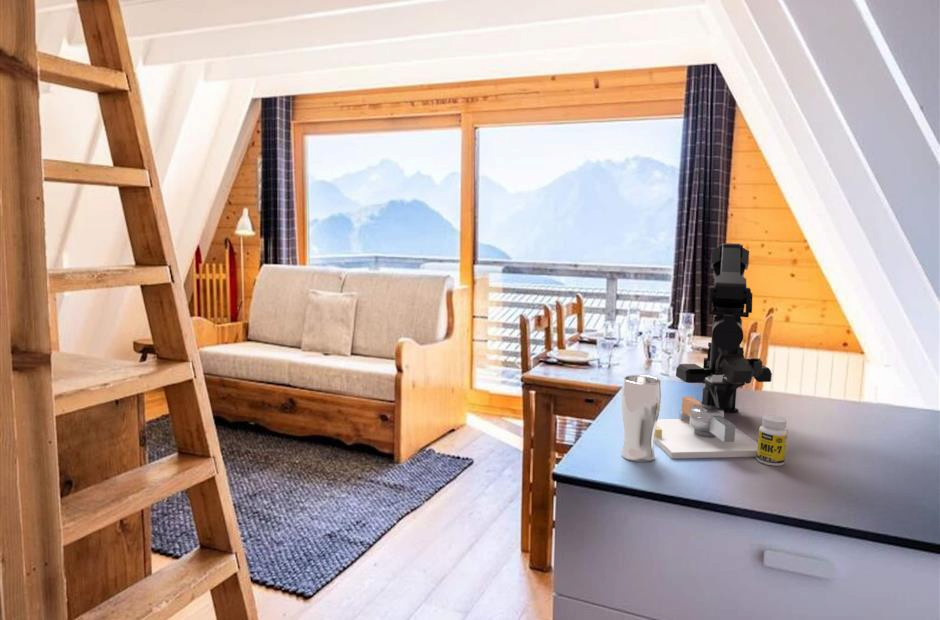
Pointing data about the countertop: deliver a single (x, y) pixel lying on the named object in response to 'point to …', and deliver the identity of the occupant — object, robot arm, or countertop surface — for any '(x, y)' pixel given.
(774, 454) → the supplement bottle
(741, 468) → the countertop surface
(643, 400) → the beer glass
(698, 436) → the coupling board
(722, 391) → the robot arm
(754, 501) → the countertop surface
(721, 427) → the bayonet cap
